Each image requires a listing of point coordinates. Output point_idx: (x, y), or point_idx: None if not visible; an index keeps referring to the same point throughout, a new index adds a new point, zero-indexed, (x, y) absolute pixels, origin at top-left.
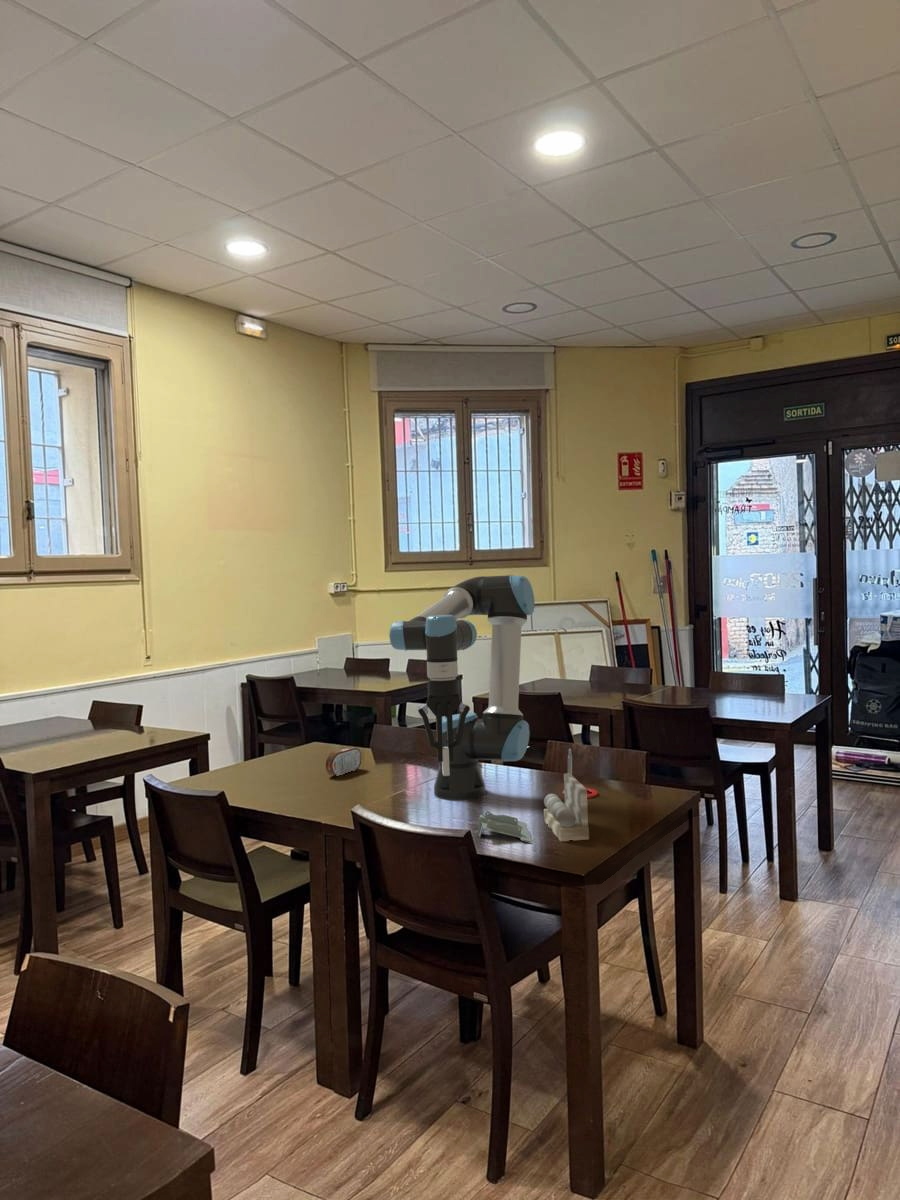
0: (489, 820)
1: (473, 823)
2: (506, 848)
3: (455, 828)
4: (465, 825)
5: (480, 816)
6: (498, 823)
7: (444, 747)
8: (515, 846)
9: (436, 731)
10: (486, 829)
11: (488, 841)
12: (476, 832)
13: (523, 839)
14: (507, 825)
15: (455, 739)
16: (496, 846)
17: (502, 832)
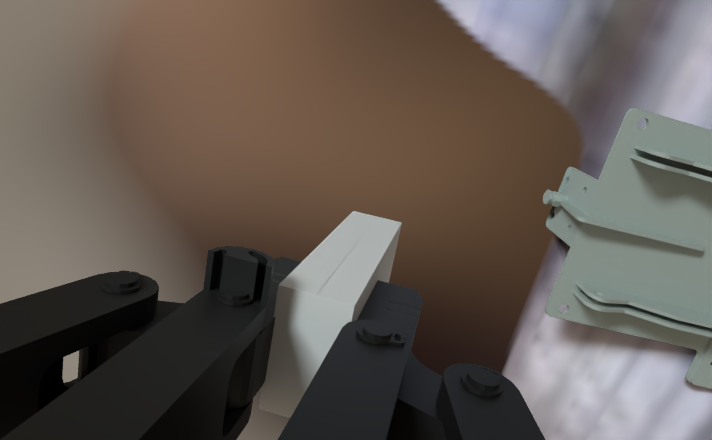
0: (593, 308)
1: (617, 11)
2: (590, 391)
3: (500, 55)
4: (564, 28)
5: (617, 140)
6: (666, 240)
7: (306, 325)
8: (636, 389)
9: (72, 404)
10: (558, 317)
11: None
12: (548, 203)
13: (695, 383)
14: (674, 327)
15: (446, 429)
16: (564, 353)
17: (630, 328)
